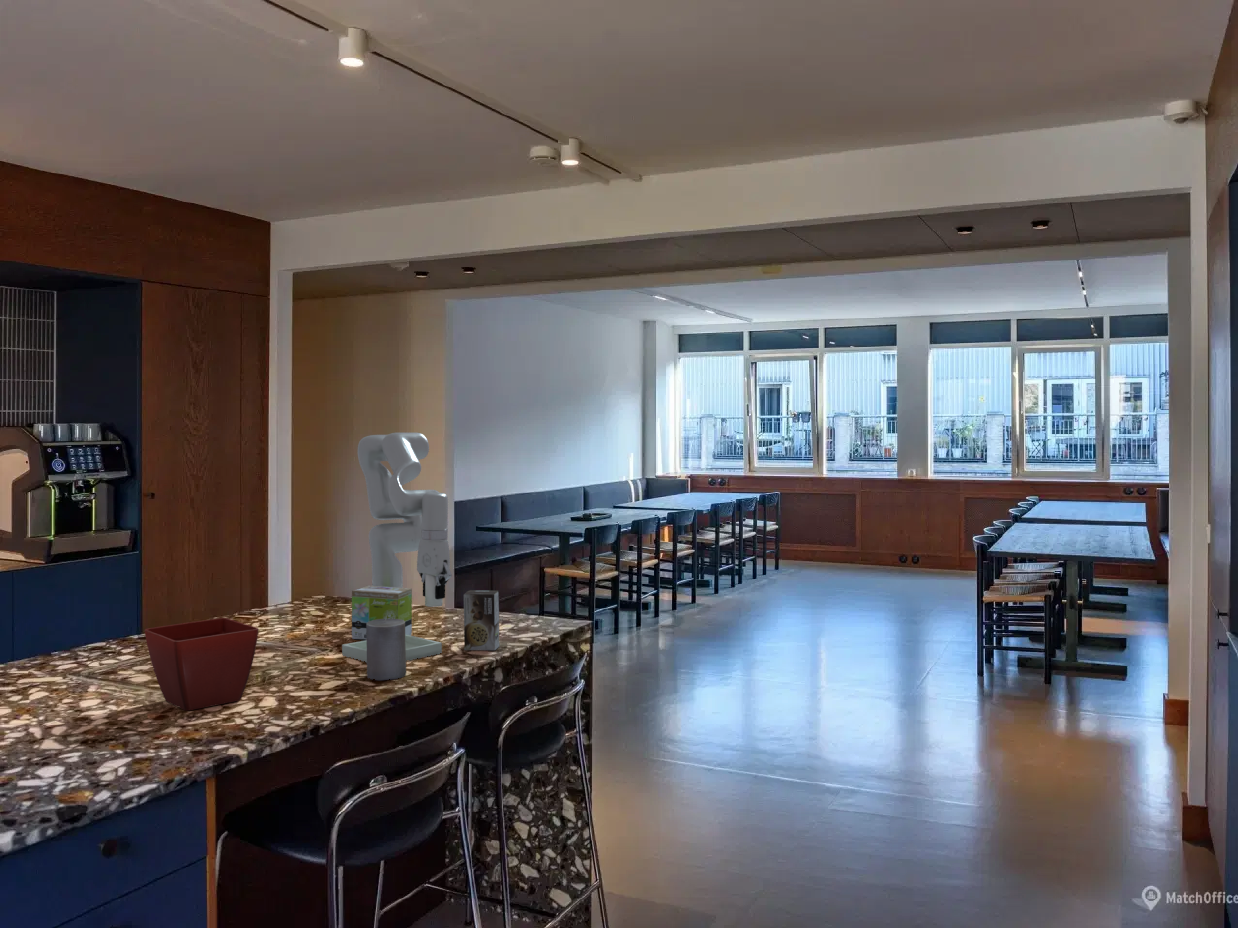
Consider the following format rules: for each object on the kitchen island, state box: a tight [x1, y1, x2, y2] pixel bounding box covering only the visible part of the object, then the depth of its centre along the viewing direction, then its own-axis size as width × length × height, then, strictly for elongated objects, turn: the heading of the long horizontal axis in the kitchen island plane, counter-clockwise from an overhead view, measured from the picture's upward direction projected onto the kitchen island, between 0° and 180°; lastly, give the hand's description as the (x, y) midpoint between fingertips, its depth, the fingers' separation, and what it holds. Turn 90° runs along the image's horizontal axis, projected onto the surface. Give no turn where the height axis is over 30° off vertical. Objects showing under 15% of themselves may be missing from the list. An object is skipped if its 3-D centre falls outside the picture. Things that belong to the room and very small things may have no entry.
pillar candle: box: [366, 617, 407, 681], centre depth 256 cm, size 10×10×15 cm
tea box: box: [351, 585, 413, 641], centre depth 300 cm, size 15×10×15 cm, turn 76°
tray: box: [341, 634, 443, 663], centre depth 279 cm, size 18×20×3 cm
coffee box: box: [463, 589, 500, 651], centre depth 288 cm, size 9×6×16 cm
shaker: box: [424, 572, 444, 608], centre depth 295 cm, size 5×5×12 cm
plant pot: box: [144, 617, 259, 711], centre depth 232 cm, size 19×19×17 cm
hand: (433, 596), depth 295 cm, fingers closed on shaker, 5 cm apart
